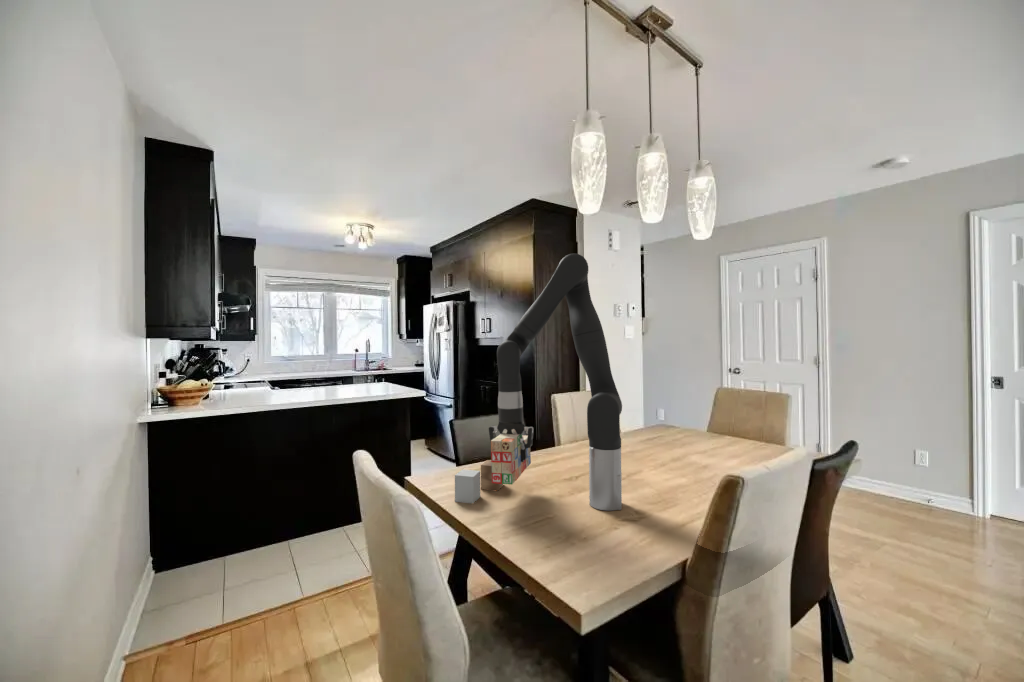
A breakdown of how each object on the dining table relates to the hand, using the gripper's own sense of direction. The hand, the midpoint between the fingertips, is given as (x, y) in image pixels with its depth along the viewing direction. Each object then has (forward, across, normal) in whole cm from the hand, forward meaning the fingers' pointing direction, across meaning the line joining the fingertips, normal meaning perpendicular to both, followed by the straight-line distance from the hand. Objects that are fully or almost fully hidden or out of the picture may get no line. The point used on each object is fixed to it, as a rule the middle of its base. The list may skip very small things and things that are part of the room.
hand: (511, 460), depth 127 cm
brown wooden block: (+12, +10, -9) cm, 18 cm away
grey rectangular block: (+12, +14, +2) cm, 18 cm away
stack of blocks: (+4, 0, 0) cm, 4 cm away
